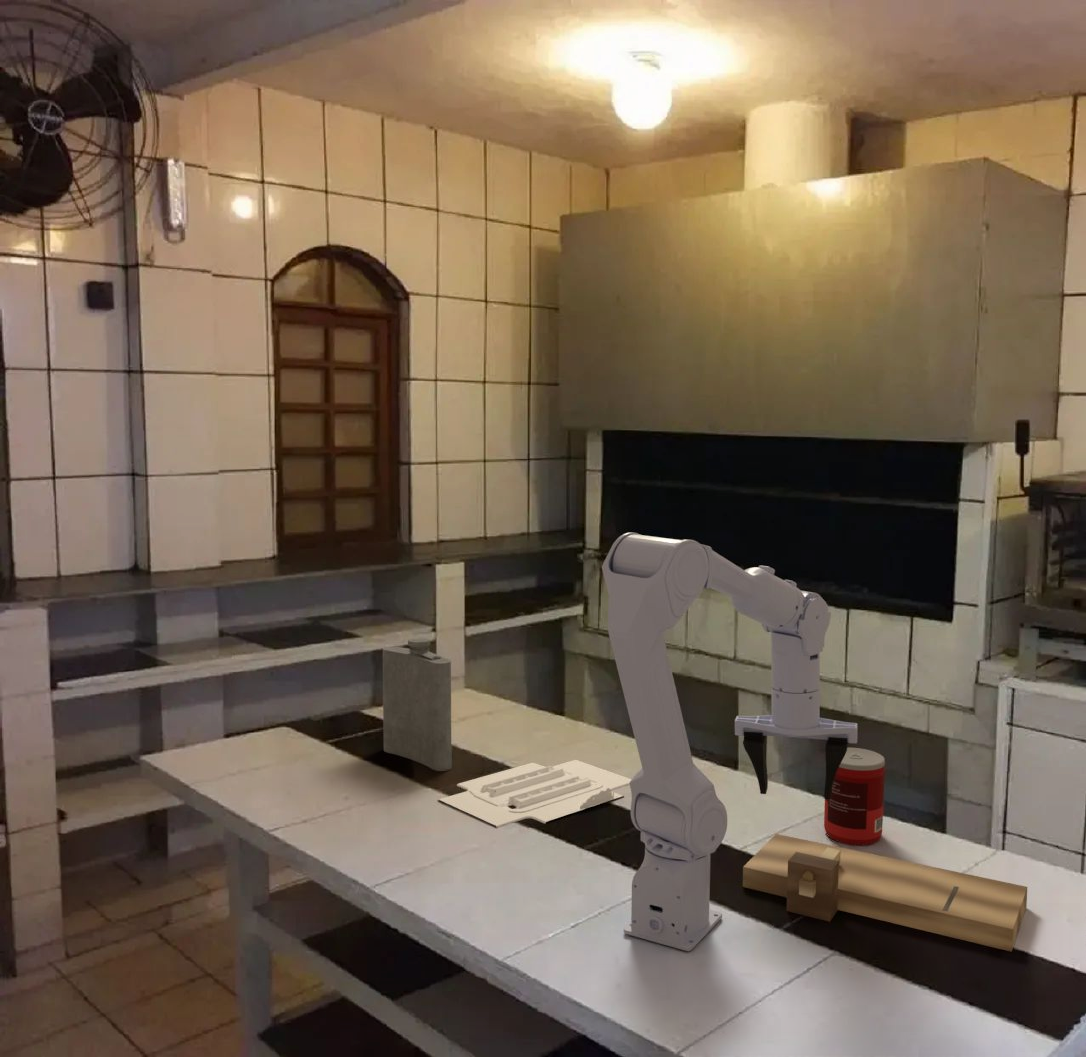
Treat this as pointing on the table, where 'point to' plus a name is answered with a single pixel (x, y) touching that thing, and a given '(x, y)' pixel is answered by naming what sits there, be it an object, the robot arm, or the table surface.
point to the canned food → (856, 799)
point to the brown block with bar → (813, 884)
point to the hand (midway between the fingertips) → (795, 793)
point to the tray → (537, 792)
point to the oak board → (903, 892)
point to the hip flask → (417, 704)
